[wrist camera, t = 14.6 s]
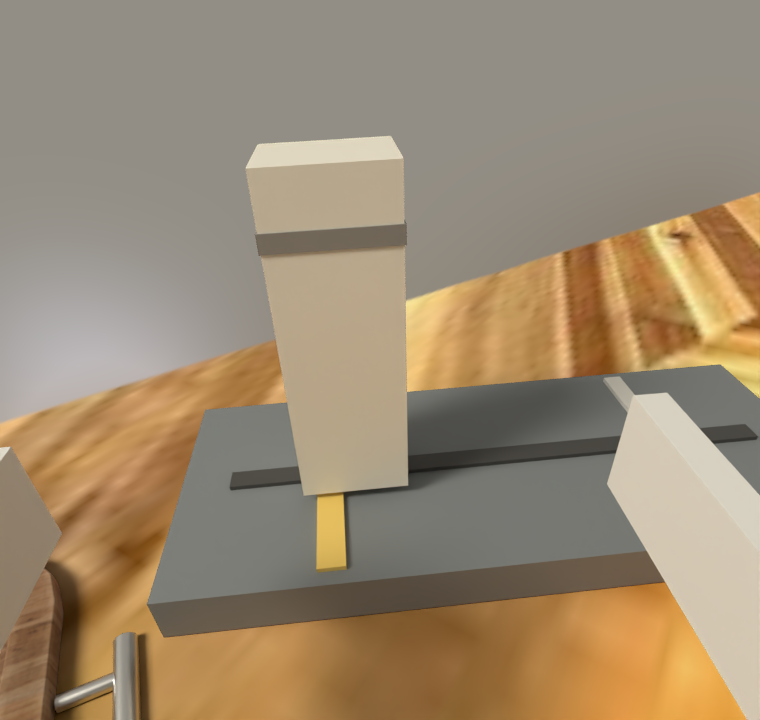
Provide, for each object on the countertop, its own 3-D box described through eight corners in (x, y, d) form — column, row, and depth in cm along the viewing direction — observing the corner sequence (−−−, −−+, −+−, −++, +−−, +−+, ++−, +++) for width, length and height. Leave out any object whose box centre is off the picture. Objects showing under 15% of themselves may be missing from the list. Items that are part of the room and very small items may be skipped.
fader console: (708, 395, 28) (721, 361, 26) (874, 558, 19) (904, 519, 18) (214, 440, 26) (204, 406, 25) (163, 637, 18) (145, 600, 17)
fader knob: (399, 432, 22) (392, 135, 16) (409, 486, 20) (405, 158, 13) (304, 441, 22) (256, 143, 16) (302, 496, 20) (243, 169, 13)
